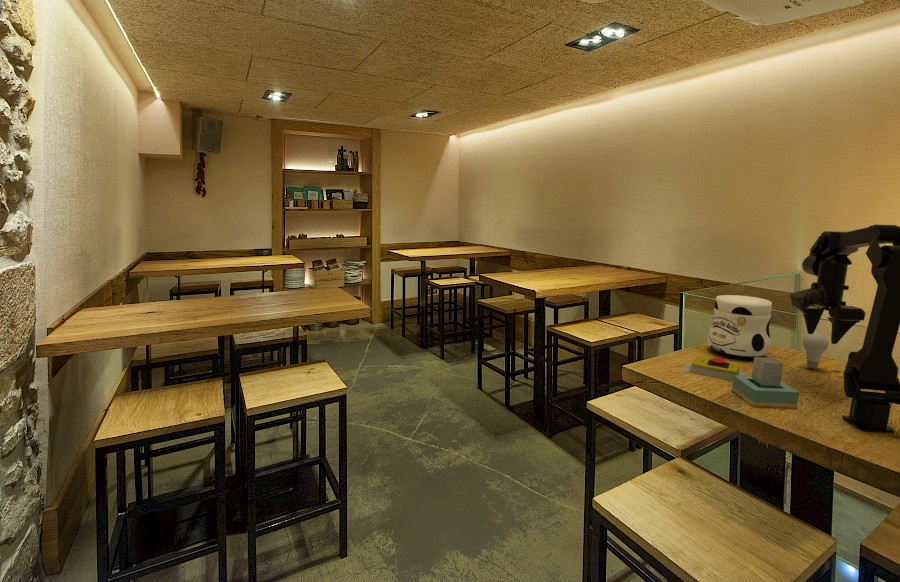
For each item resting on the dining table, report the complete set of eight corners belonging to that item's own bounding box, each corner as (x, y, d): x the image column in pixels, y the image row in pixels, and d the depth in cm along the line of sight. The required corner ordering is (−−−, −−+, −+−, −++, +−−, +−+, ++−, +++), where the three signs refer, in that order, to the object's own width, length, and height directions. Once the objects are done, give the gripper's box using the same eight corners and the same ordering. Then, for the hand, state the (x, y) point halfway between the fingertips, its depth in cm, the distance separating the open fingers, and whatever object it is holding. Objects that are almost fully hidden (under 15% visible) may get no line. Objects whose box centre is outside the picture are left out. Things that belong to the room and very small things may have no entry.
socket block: (796, 408, 114) (799, 392, 114) (752, 406, 115) (754, 390, 114) (772, 391, 124) (774, 377, 123) (732, 390, 125) (734, 375, 124)
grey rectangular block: (778, 398, 117) (783, 363, 115) (759, 397, 117) (763, 362, 116) (767, 391, 121) (772, 357, 120) (749, 391, 122) (754, 357, 120)
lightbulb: (828, 373, 138) (835, 336, 136) (805, 371, 140) (810, 335, 138) (817, 366, 144) (823, 330, 142) (794, 364, 146) (800, 329, 144)
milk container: (701, 354, 154) (708, 300, 151) (711, 342, 168) (717, 292, 164) (765, 366, 144) (773, 307, 140) (770, 352, 157) (778, 298, 154)
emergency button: (743, 369, 129) (683, 358, 138) (741, 384, 130) (681, 373, 139) (746, 360, 137) (688, 350, 145) (744, 374, 138) (687, 364, 146)
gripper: (777, 274, 133) (769, 328, 136) (822, 285, 115) (812, 348, 118) (819, 275, 133) (810, 329, 135) (872, 286, 114) (860, 349, 117)
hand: (821, 338), depth 126 cm, fingers open, 9 cm apart
